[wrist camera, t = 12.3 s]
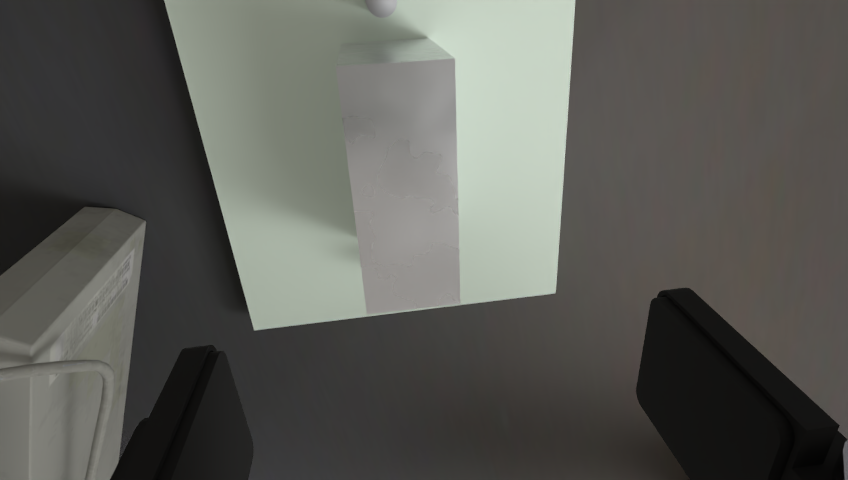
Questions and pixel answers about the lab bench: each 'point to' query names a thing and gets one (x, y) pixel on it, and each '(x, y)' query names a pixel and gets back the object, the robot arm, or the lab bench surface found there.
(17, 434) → the geiger counter
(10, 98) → the lab bench surface
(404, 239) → the block
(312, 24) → the pin plate
